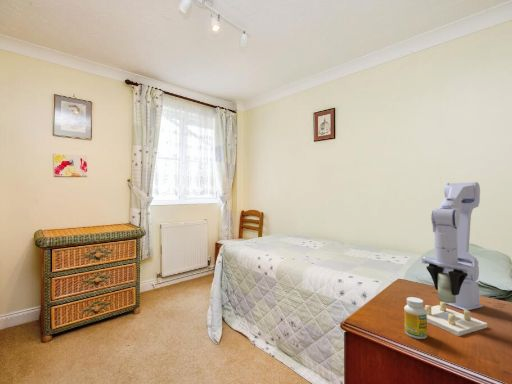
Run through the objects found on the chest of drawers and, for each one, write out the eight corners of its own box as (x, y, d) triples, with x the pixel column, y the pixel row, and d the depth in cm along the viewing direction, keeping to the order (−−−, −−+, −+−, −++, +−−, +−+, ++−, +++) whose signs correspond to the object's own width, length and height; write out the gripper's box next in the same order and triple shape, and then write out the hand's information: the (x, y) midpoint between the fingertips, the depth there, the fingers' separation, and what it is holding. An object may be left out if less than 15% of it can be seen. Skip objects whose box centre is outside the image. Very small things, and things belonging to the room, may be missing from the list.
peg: (444, 296, 83) (443, 271, 83) (459, 302, 79) (458, 275, 79) (434, 298, 82) (434, 273, 82) (449, 304, 77) (448, 277, 78)
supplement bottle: (410, 327, 76) (409, 294, 76) (430, 335, 72) (430, 300, 72) (400, 333, 73) (400, 298, 73) (421, 341, 69) (420, 305, 69)
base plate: (438, 308, 89) (438, 297, 89) (487, 327, 76) (487, 314, 76) (411, 314, 84) (411, 303, 84) (458, 336, 71) (458, 322, 71)
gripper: (414, 244, 86) (415, 286, 86) (463, 253, 73) (464, 302, 72) (429, 243, 89) (430, 283, 88) (479, 251, 75) (480, 298, 75)
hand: (446, 291), depth 80 cm, fingers closed on peg, 4 cm apart
